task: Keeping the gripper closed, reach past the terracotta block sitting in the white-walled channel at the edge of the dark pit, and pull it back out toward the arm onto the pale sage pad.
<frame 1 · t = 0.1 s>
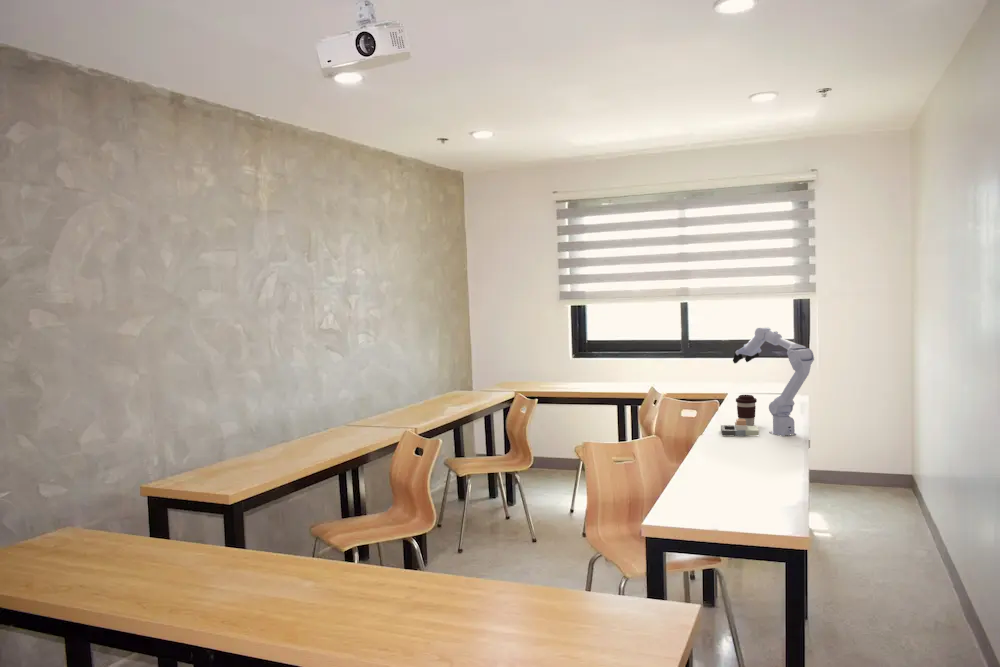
hand: (740, 361, 371), 32 cm above the table, tool tilted 50°, fingers open, 7 cm apart
terracotta block: (741, 428, 352), point 2 cm above the table, touching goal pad, gray recessed tray
coffee cup: (746, 425, 370), on the table
channel walls: (741, 433, 352), resting on gray recessed tray
gray recessed tray: (733, 433, 353), on the table
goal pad: (751, 433, 351), on the table
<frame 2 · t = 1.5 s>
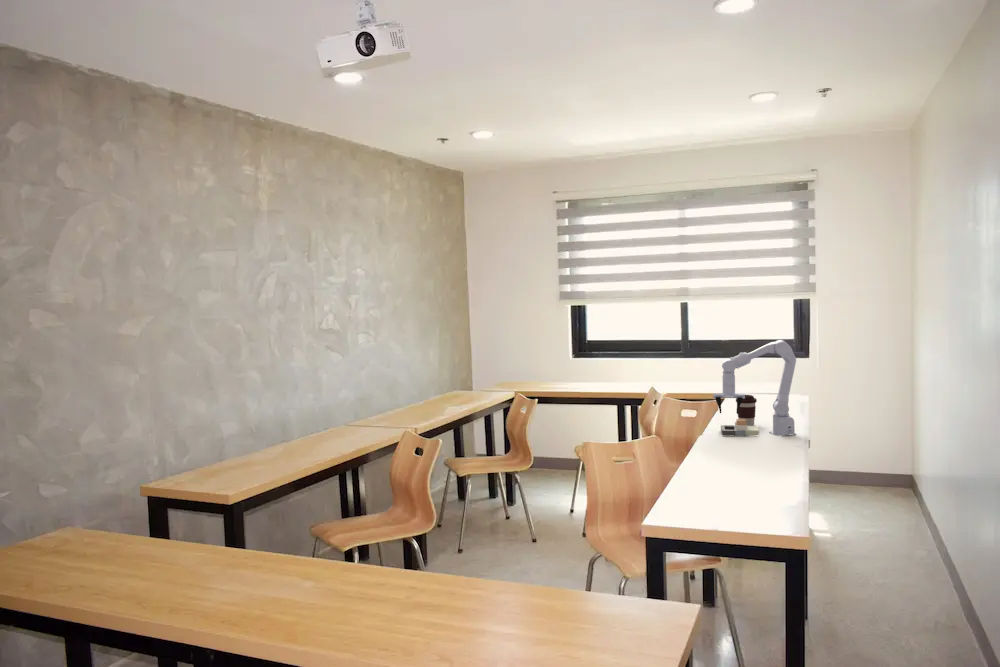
hand: (728, 413, 353), 10 cm above the table, tool pointing down, fingers open, 7 cm apart
nothing on the table moved.
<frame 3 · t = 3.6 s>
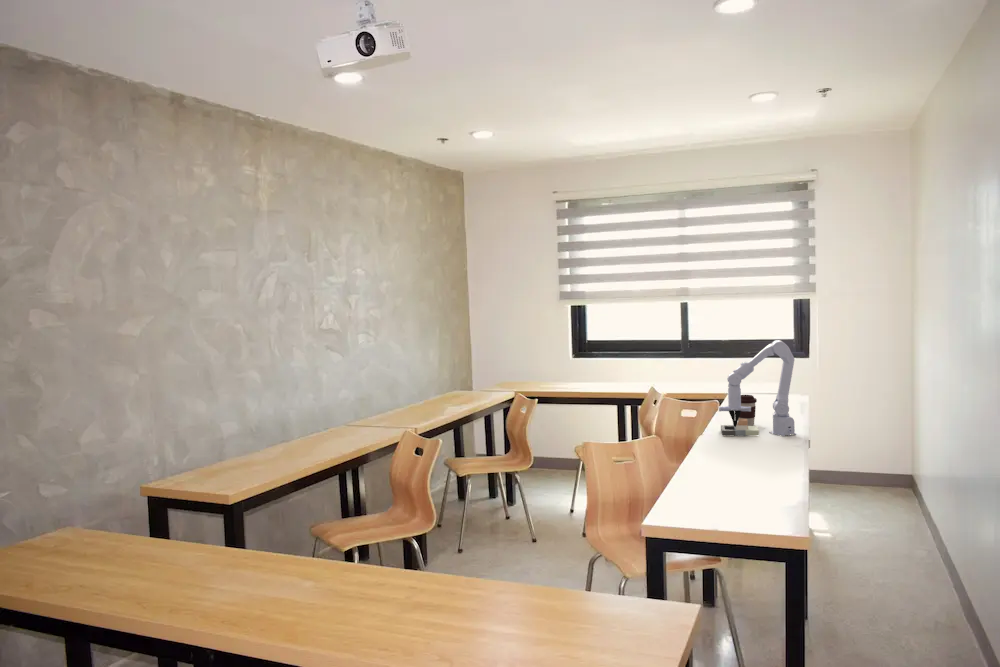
hand: (735, 426, 353), 3 cm above the table, tool pointing down, fingers closed
terracotta block: (742, 428, 352), point 2 cm above the table, touching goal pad, gripper, gray recessed tray
everything else where it was.
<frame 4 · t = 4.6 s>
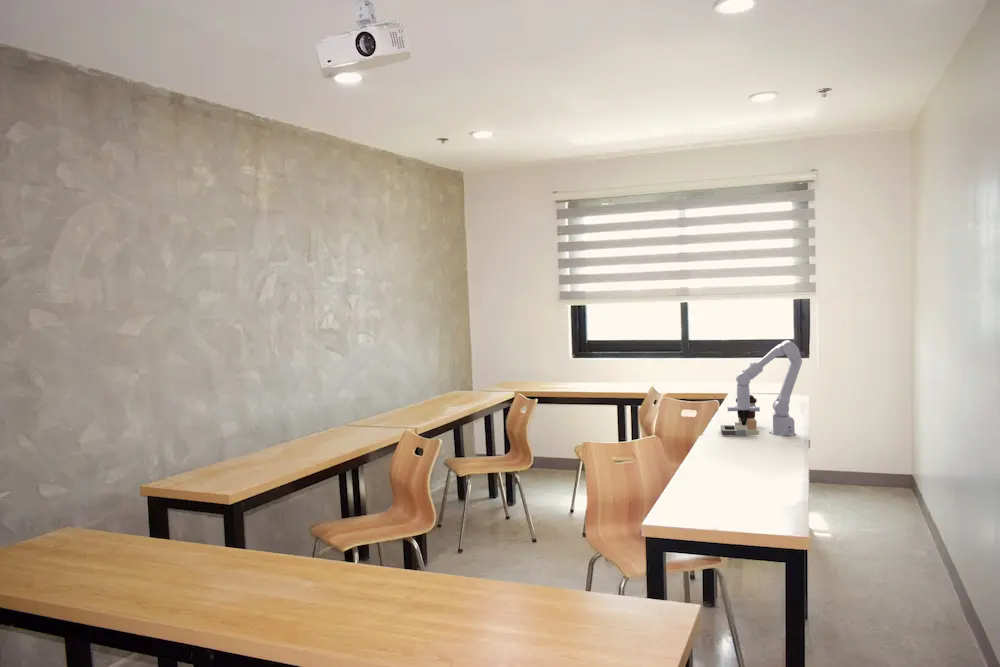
hand: (743, 426, 352), 3 cm above the table, tool pointing down, fingers closed
terracotta block: (751, 428, 351), point 2 cm above the table, touching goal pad, gripper
everything else where it was.
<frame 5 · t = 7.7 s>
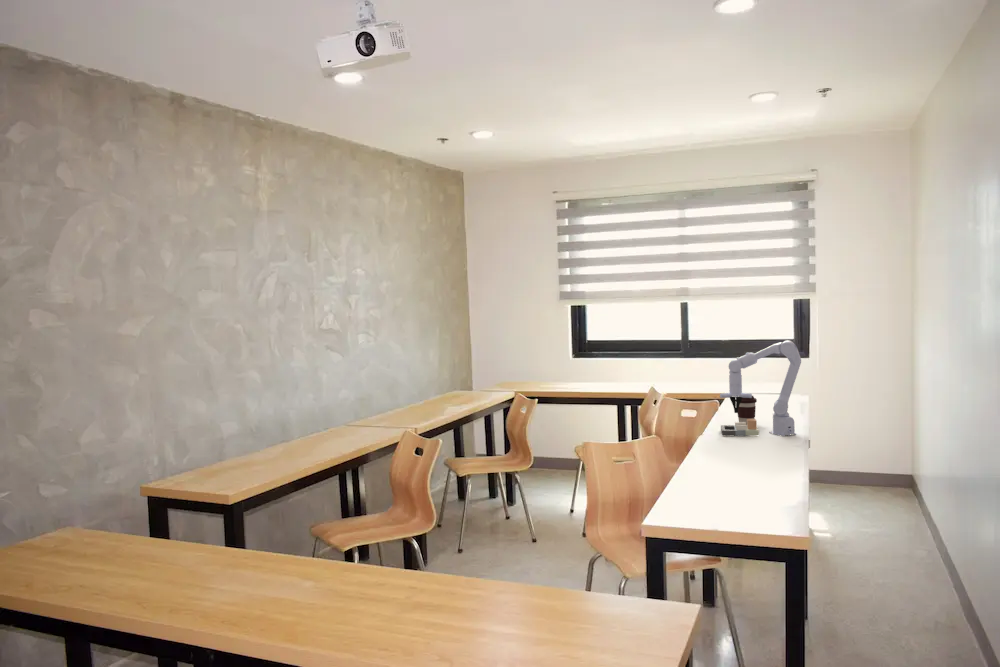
hand: (736, 412, 355), 9 cm above the table, tool pointing down, fingers closed
terracotta block: (751, 428, 351), point 2 cm above the table, touching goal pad
everything else where it was.
at the end: terracotta block 0.3 cm from the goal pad (horizontally); terracotta block point 2.5 cm above the table; terracotta block tilted 0° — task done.
